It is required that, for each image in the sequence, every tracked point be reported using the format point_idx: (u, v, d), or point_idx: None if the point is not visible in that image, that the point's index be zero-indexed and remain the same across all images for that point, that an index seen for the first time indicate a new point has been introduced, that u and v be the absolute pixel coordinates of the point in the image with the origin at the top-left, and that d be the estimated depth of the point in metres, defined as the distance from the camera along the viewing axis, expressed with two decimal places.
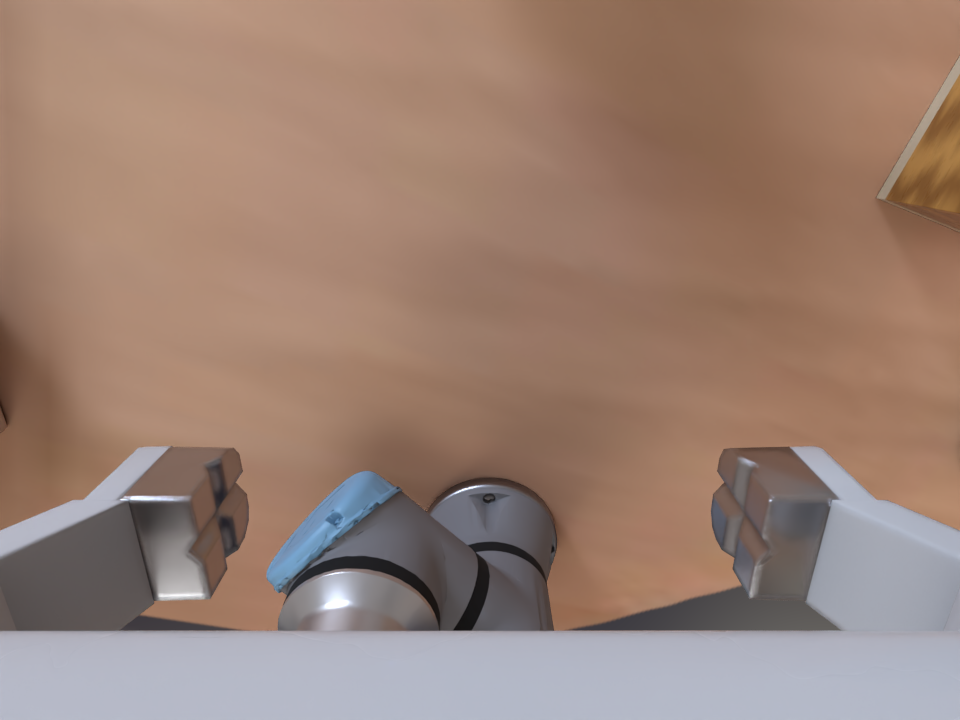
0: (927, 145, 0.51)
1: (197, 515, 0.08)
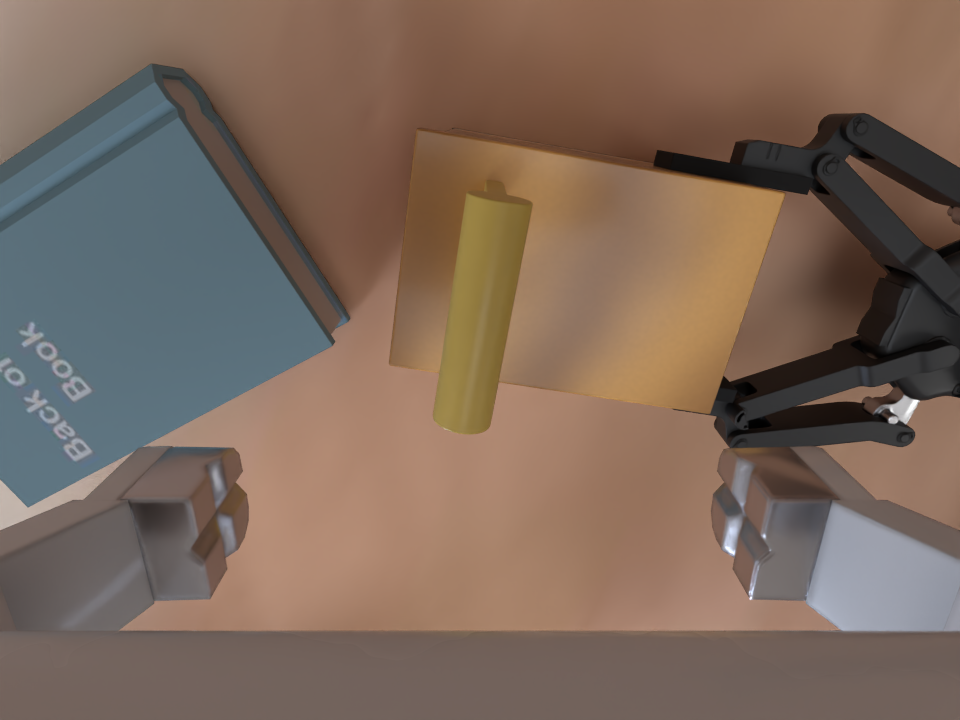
0: None
1: (197, 515, 0.08)
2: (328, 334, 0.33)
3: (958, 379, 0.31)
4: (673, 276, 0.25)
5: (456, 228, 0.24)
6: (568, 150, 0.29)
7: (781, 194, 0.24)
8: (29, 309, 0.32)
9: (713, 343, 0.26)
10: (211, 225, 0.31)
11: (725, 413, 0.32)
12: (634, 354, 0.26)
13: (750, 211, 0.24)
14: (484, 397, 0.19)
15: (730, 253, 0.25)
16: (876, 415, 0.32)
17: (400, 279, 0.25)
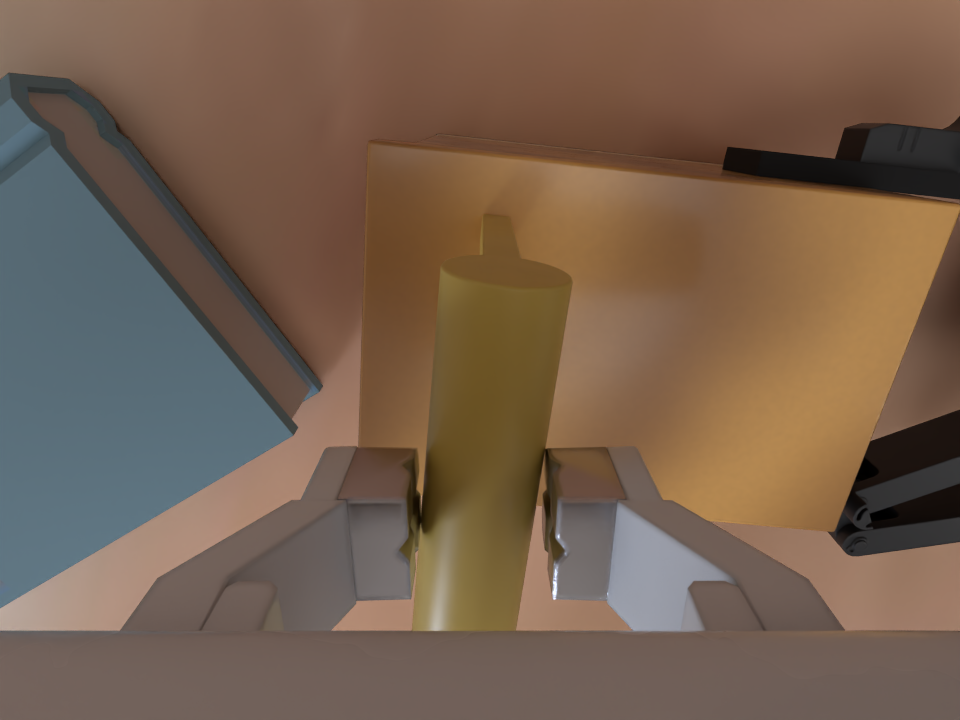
0: None
1: (407, 515, 0.08)
2: (287, 419, 0.25)
3: None
4: (780, 342, 0.16)
5: None
6: (599, 155, 0.21)
7: (954, 207, 0.15)
8: None
9: (841, 434, 0.17)
10: (114, 289, 0.23)
11: None
12: (721, 456, 0.18)
13: (904, 236, 0.15)
14: (498, 626, 0.10)
15: (870, 302, 0.16)
16: None
17: (363, 369, 0.17)
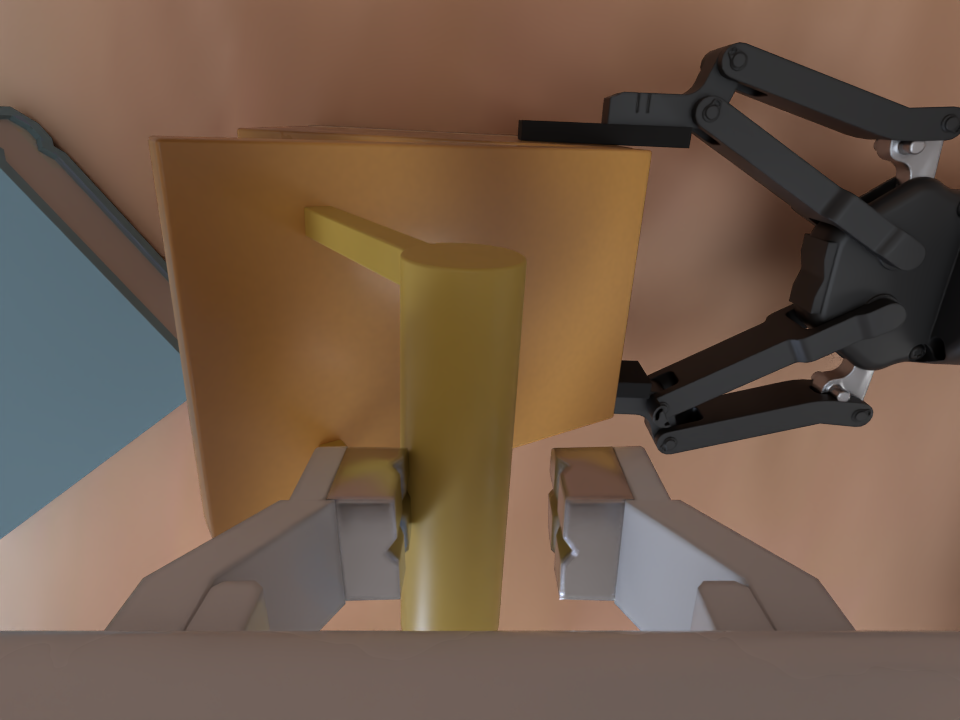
0: None
1: (396, 515, 0.08)
2: None
3: (913, 341, 0.26)
4: (561, 278, 0.20)
5: (274, 295, 0.14)
6: (422, 133, 0.26)
7: (648, 153, 0.20)
8: None
9: (607, 341, 0.22)
10: (53, 270, 0.28)
11: (646, 410, 0.28)
12: (535, 385, 0.20)
13: (624, 179, 0.20)
14: (499, 582, 0.11)
15: (611, 234, 0.20)
16: (825, 393, 0.28)
17: (196, 405, 0.14)
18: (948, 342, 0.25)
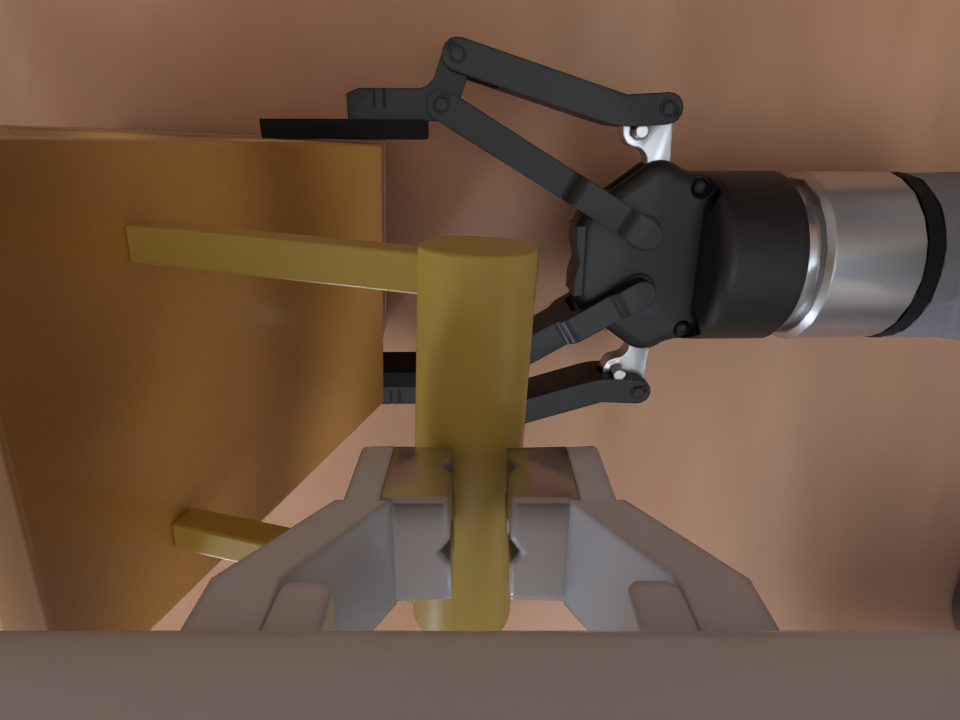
0: None
1: (449, 515, 0.08)
2: None
3: (675, 317, 0.27)
4: None
5: (104, 347, 0.11)
6: None
7: (380, 147, 0.21)
8: None
9: (374, 330, 0.23)
10: None
11: None
12: (334, 387, 0.20)
13: (368, 173, 0.20)
14: None
15: (366, 226, 0.21)
16: (607, 372, 0.29)
17: (28, 527, 0.10)
18: (698, 317, 0.26)
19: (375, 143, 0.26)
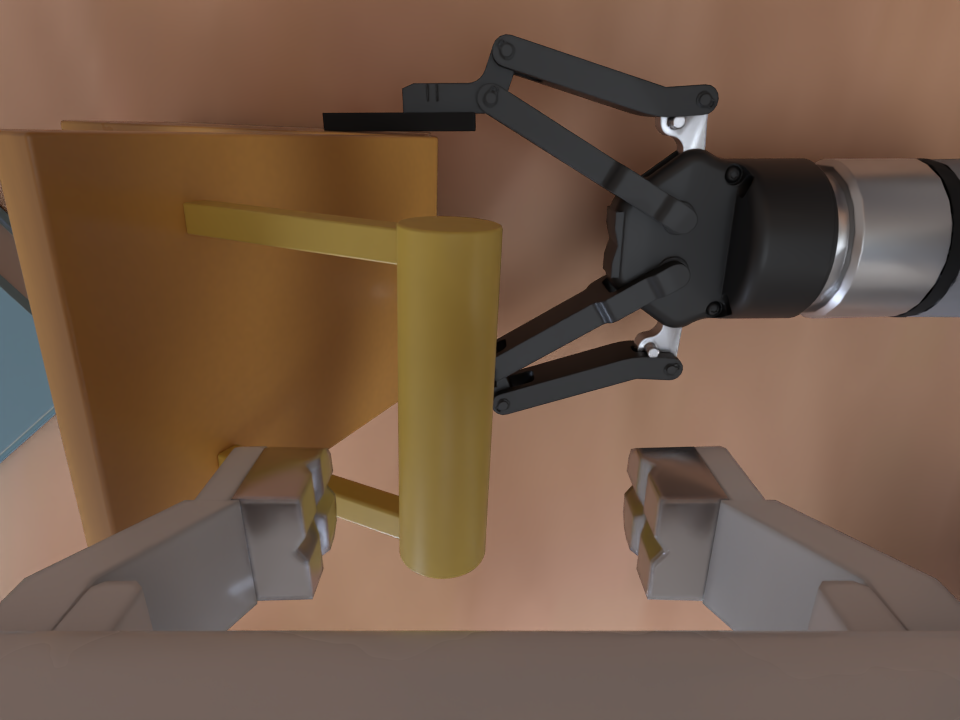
0: None
1: (304, 515, 0.08)
2: None
3: (707, 298, 0.29)
4: None
5: (162, 301, 0.13)
6: None
7: (436, 139, 0.23)
8: None
9: None
10: None
11: None
12: (380, 357, 0.22)
13: (422, 163, 0.22)
14: None
15: (419, 212, 0.23)
16: (641, 351, 0.31)
17: (96, 437, 0.13)
18: (730, 297, 0.28)
19: None
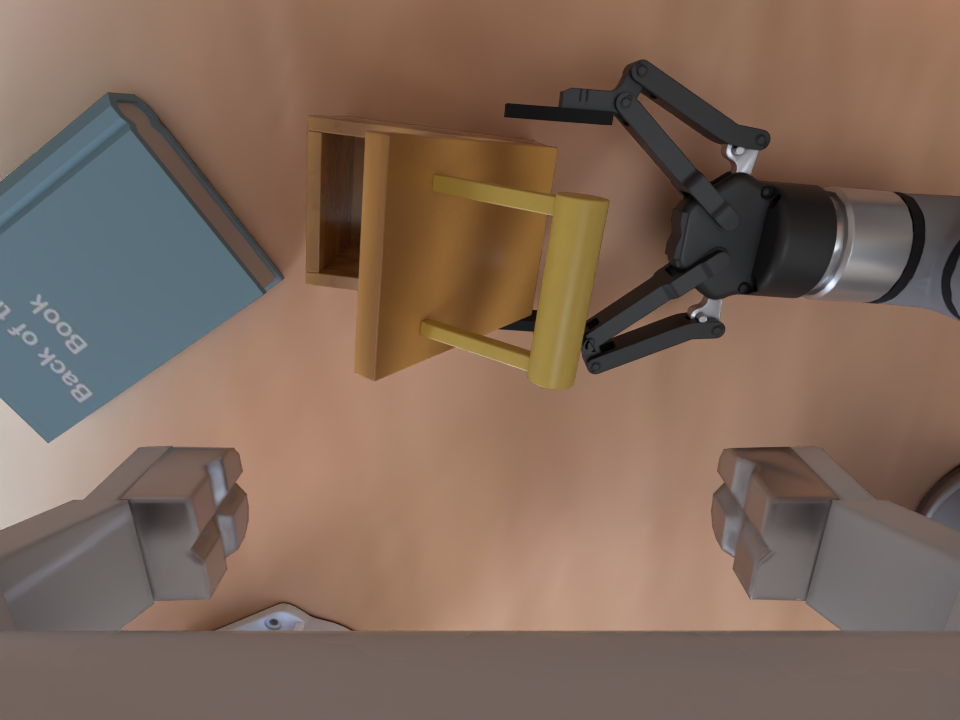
0: None
1: (197, 515, 0.08)
2: (260, 286, 0.44)
3: (740, 279, 0.40)
4: (519, 222, 0.32)
5: (416, 226, 0.25)
6: (420, 127, 0.39)
7: (556, 149, 0.34)
8: (36, 284, 0.43)
9: (533, 264, 0.35)
10: (163, 208, 0.41)
11: (581, 345, 0.43)
12: (504, 290, 0.33)
13: (547, 164, 0.33)
14: None
15: None
16: (693, 319, 0.42)
17: (380, 291, 0.24)
18: (757, 279, 0.39)
19: (540, 143, 0.38)
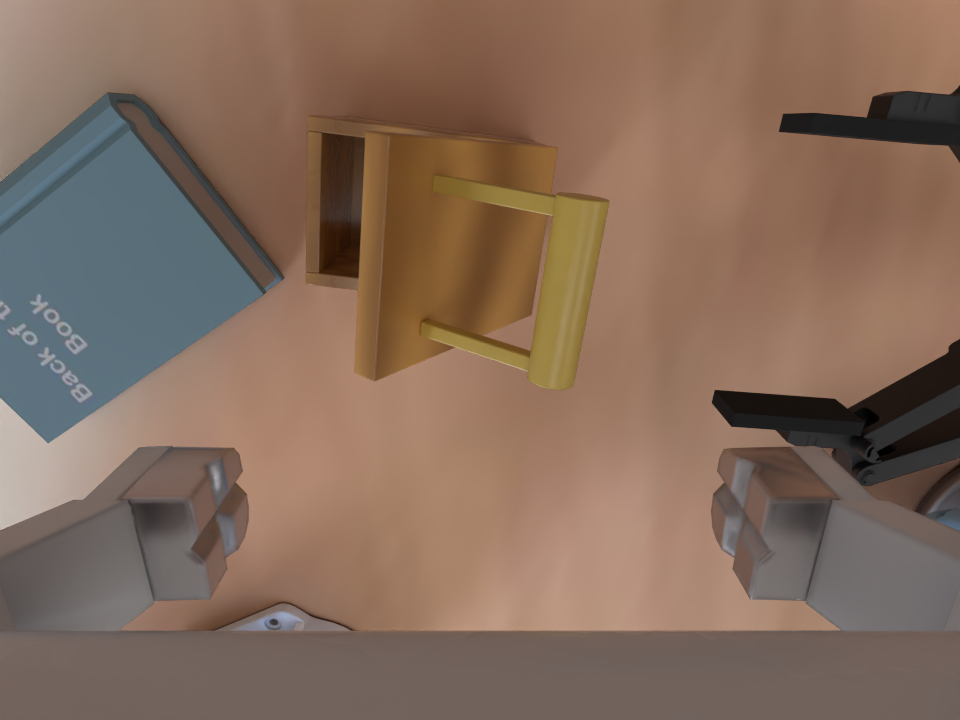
0: None
1: (196, 515, 0.08)
2: (260, 286, 0.44)
3: None
4: (519, 223, 0.32)
5: (416, 226, 0.25)
6: (420, 127, 0.39)
7: (556, 149, 0.34)
8: (36, 284, 0.43)
9: (533, 264, 0.35)
10: (163, 208, 0.41)
11: (851, 447, 0.31)
12: (504, 290, 0.33)
13: (547, 164, 0.33)
14: None
15: None
16: None
17: (380, 291, 0.24)
18: None
19: None
